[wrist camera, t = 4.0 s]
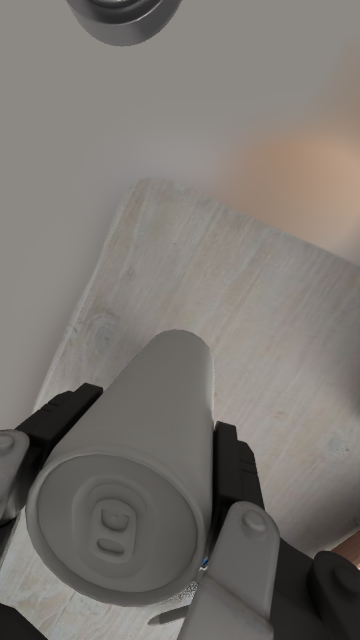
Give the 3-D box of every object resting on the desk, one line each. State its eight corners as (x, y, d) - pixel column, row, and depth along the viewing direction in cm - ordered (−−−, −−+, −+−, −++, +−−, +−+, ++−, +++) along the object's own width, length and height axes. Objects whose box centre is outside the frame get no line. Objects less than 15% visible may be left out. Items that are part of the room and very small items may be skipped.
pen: (247, 587, 32) (249, 601, 30) (151, 617, 35) (148, 631, 33) (243, 580, 32) (244, 594, 30) (147, 611, 35) (144, 625, 33)
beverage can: (221, 335, 17) (231, 474, 6) (207, 401, 18) (191, 635, 7) (149, 321, 18) (23, 422, 6) (139, 386, 19) (16, 580, 7)
